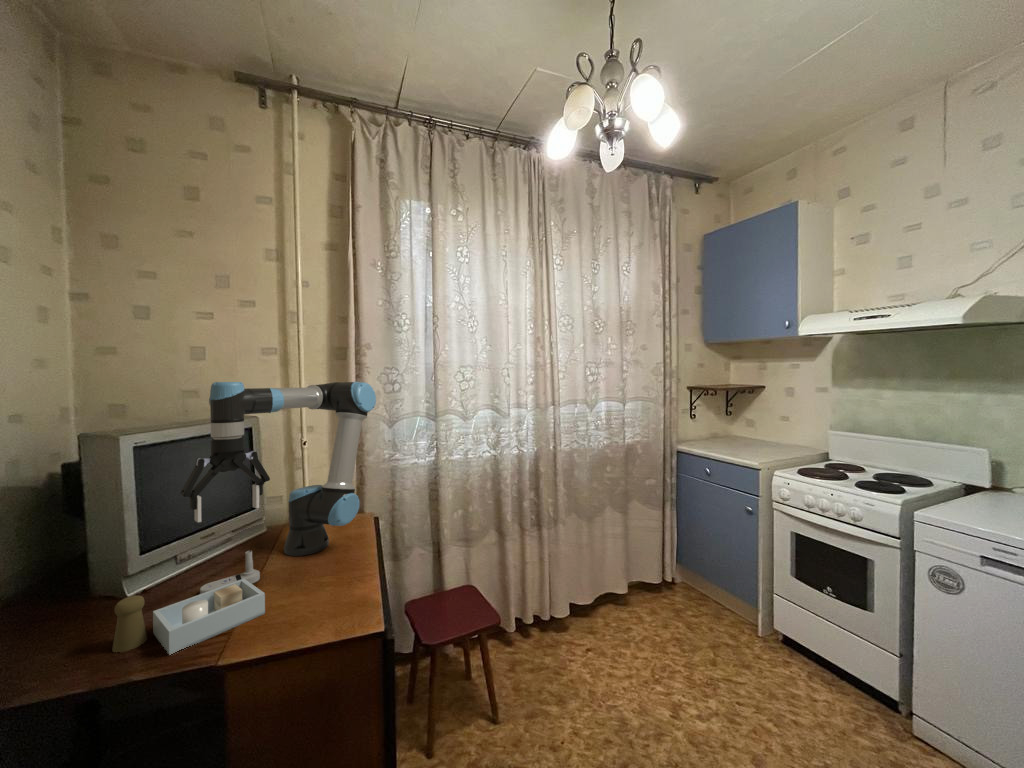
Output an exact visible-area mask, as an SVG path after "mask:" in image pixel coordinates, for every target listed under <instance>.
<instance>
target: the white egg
mask: <svg viewBox="0 0 1024 768" xmlns="http://www.w3.org/2000/svg"><path fill="white" fill-rule="evenodd" d="M207 614H208V601H207V600H199V601H195V602H192V603H189V604H187V605H186V606H184V607H183V608H182V624H185V623H187V622H190V621H192V620H195V619H197V618H200V617H202V616H205V615H207Z"/></svg>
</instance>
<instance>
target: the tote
mask: <svg viewBox="0 0 1024 768" xmlns="http://www.w3.org/2000/svg"><path fill="white" fill-rule="evenodd" d="M234 584H235V585H237V586H238V587H240V588H241V589H242V601H240V602H237V603H235V604H232V605H230V606H227V607H225V608H222V609H220V610H217V611H214V592H215V591H218V590H221V589H223V588H226V587H229V586H232V585H234ZM199 600H207V601H208V614H207V615H205V616H202V617H200V618H197V619H195V620H192V621H190V622H187V623H185V624H182V608H183V607H184V606H186V605H187V604H189V603H192V602H195V601H199ZM265 614H266V593H265V592H264V591H262V590H261V589H259V587H256V586H255V585H254V583H253V584H251V583H250V582H248V581H247V580H245V579H241V580H238V581H236V582H233V583H230V584H227V585H225V586H222V587H219V588H216V589H213V590H211V591H208V592H205V593H202V594H200V593H199V594H198V595H197V594H196V595H195V596H192V597H189V598H186V599H184V600H180V601H178V602H175V603H172V604H169V605H166V606H163V607H162V608H158V609H156V610H152V632H153V633H152V634H153V635H154V636H155V638H156V639H157V641H158V642H159V643H161V644H160V646H161V647H162V648H163V647H164V648H163V649H164V651H165V650H166V651H167V652H166V651H165V652H166V653H167V655H168V654H169V655H171V654H173V653H175V652H177V651H179V650H181V649H184V648H186V647H189V646H191V647H193V646H195V645H197V643H198V644H199V643H202V642H204V641H206V640H209V639H211V638H214V637H216V636H218V635H220V634H222V633H225V632H227V631H229V630H231V629H234V628H236V627H239V626H241V625H242V624H246V623H247V622H250V621H252V620H254V619H256V618H258V617H261V616H263V615H265ZM194 644H195V645H194ZM192 645H193V646H192ZM189 648H190V647H189ZM186 649H187V648H186ZM184 650H185V649H184ZM177 653H178V652H177ZM175 654H176V653H175ZM169 655H168V656H169ZM173 655H174V654H173ZM171 656H172V655H171Z"/></svg>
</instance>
